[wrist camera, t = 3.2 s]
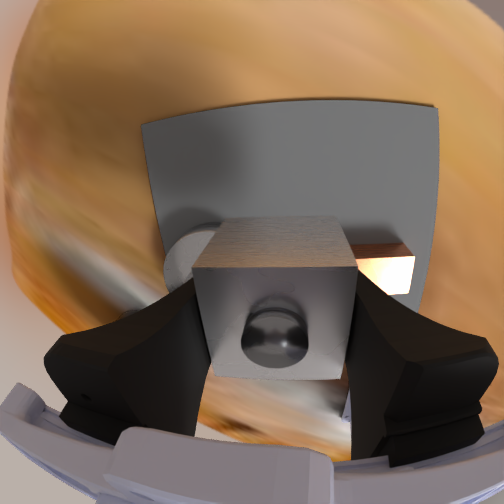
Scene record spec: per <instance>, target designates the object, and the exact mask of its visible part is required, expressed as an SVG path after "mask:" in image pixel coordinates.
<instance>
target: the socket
mask: <svg viewBox="0 0 504 504" xmlns="http://www.w3.org/2000/svg"><path fill="white" fill-rule="evenodd" d="M191 268H192V273H193V279H194V284H195V289H196V294H197V299H198V304H199V308H200V313H201V318H202V322H203V327H204V331H205V336H206V340H207V344H208V348H209V353H210V357H211V361H212V365H213V369H214V373H215V376H222V377H234V378H249V379H273V380H324V379H340V378H341V374H342V369H343V364H344V359H345V354H346V349H347V343H348V338H349V332H350V326H351V320H352V313H353V306H354V299H355V292H356V284H357V275H358V264H357V262H356V259H355V257H354V255H353V252H352V250H351V248H350V245H349V243H348V241H347V239H346V237H345V234H344V232H343V230H342V228H341V226H340V224H339V221H338V219H337V217H336V216H272V217H238V218H225V220H224V221H223V223H222V224H221V225H220V227H219V228H218V230H217V231H216V232H215V234H214V235H213V237H212V238H211V240H210V241H209V242H208V244H207V245H206V247H205V248H204V250H203V251H202V253H201V254H200V255H199V257H198V258H197V260H196V261H195V263H194V264H193V266H192V267H191Z"/></svg>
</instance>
